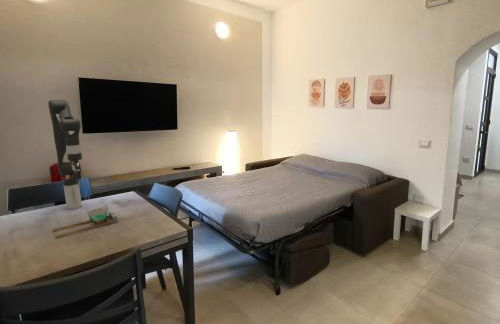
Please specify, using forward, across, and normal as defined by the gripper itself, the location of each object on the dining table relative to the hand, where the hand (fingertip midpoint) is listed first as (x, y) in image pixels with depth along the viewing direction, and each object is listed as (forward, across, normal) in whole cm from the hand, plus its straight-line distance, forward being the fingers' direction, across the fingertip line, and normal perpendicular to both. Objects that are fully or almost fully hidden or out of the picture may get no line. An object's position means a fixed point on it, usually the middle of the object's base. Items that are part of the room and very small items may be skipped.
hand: (77, 178), depth 175 cm
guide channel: (+28, +12, 0) cm, 31 cm away
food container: (+28, +14, +7) cm, 32 cm away
